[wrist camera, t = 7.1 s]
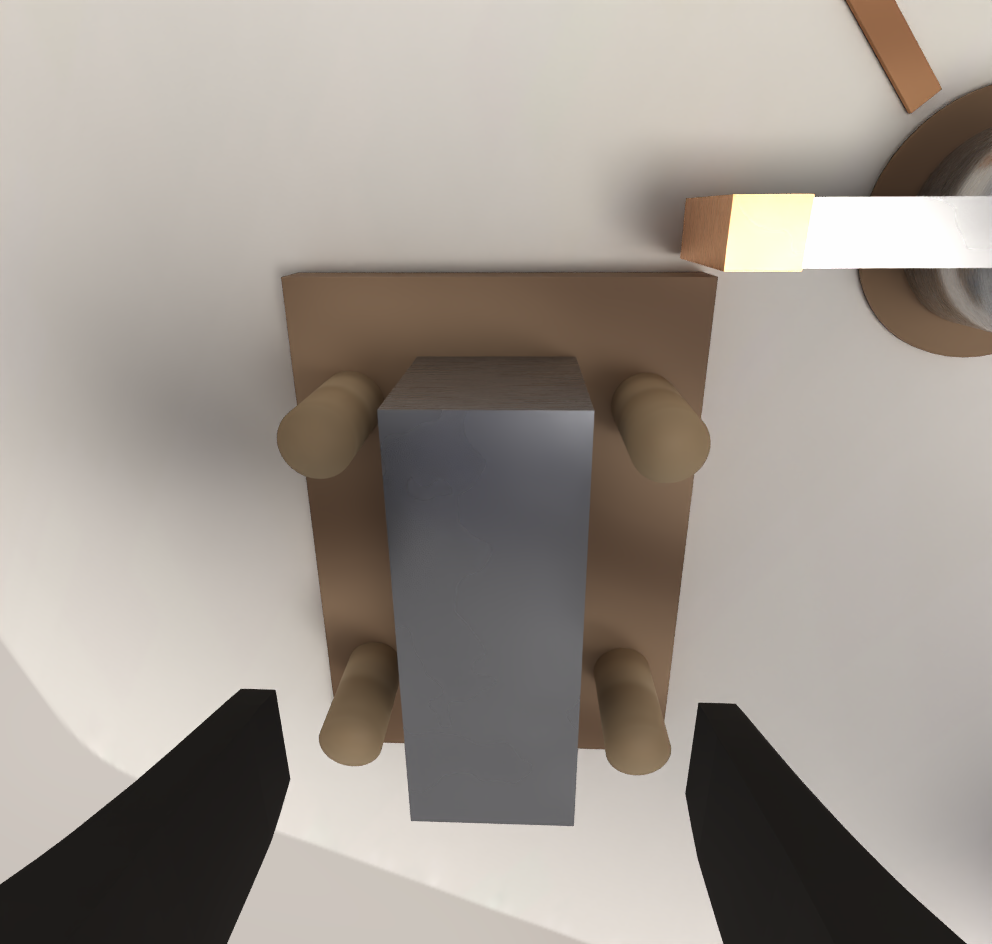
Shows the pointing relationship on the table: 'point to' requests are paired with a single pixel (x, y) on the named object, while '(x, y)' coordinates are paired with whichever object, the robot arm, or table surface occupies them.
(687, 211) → the silver lever knob
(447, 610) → the steel bar
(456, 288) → the walnut board
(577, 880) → the table surface
